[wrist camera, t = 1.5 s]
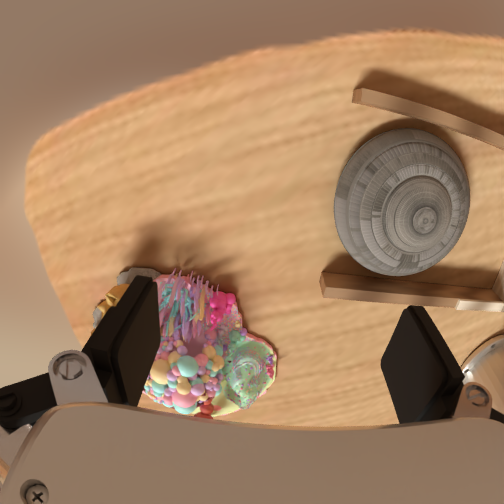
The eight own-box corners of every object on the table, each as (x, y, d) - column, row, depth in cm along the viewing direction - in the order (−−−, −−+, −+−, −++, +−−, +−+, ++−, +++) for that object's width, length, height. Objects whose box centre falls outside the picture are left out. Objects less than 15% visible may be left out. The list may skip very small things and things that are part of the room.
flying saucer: (417, 287, 33) (436, 315, 28) (304, 236, 31) (310, 261, 26) (482, 174, 27) (512, 188, 22) (373, 98, 25) (394, 96, 20)
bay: (537, 156, 24) (556, 162, 21) (494, 297, 33) (506, 312, 29) (353, 89, 25) (364, 87, 21) (319, 281, 33) (323, 300, 30)
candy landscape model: (86, 360, 42) (61, 403, 33) (115, 230, 32) (71, 270, 24) (234, 423, 45) (228, 472, 37) (319, 324, 36) (329, 383, 27)
